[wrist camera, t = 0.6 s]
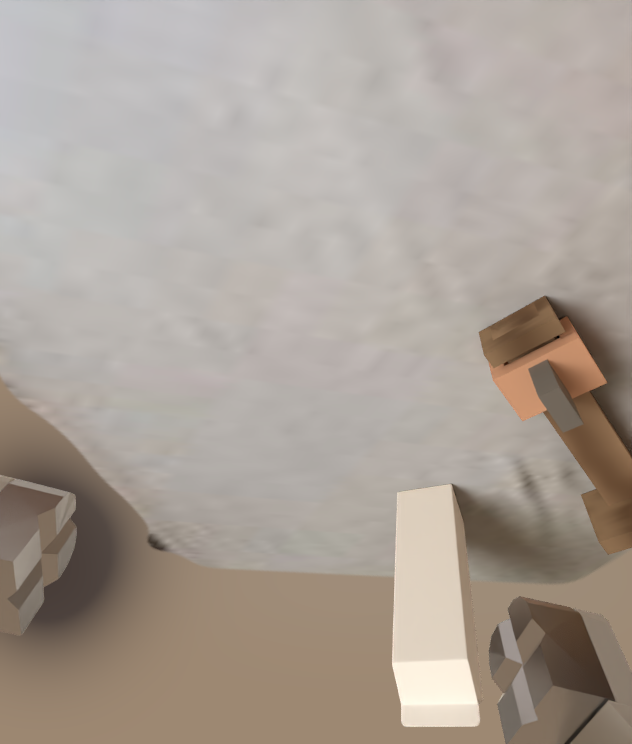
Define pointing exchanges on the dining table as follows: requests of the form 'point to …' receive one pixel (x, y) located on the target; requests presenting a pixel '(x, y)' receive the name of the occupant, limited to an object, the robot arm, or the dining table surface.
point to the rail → (586, 442)
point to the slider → (550, 379)
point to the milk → (434, 613)
